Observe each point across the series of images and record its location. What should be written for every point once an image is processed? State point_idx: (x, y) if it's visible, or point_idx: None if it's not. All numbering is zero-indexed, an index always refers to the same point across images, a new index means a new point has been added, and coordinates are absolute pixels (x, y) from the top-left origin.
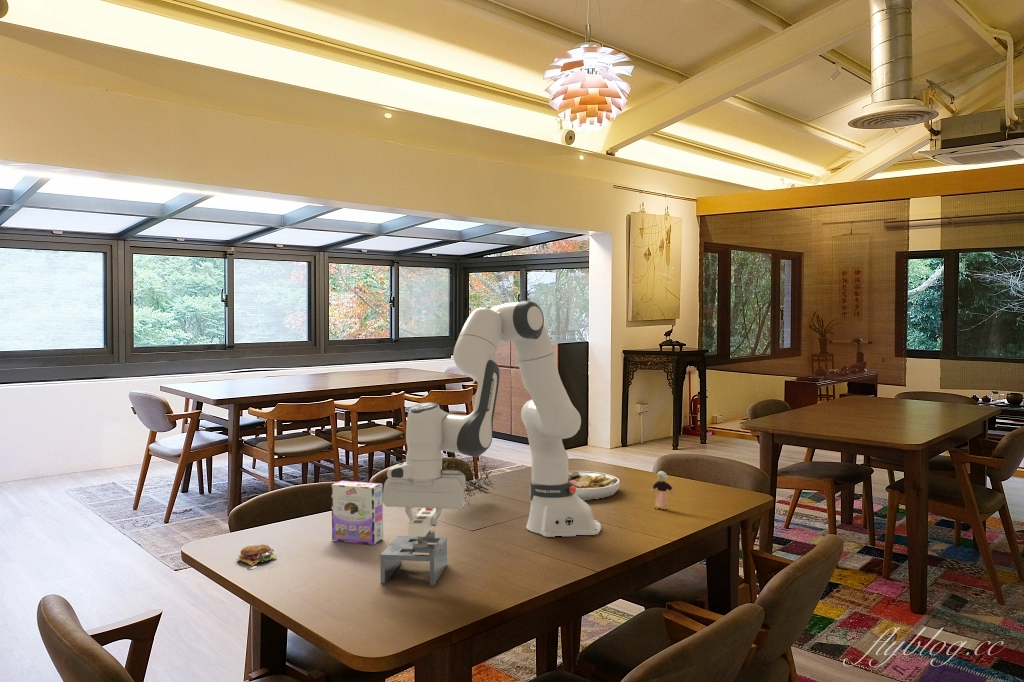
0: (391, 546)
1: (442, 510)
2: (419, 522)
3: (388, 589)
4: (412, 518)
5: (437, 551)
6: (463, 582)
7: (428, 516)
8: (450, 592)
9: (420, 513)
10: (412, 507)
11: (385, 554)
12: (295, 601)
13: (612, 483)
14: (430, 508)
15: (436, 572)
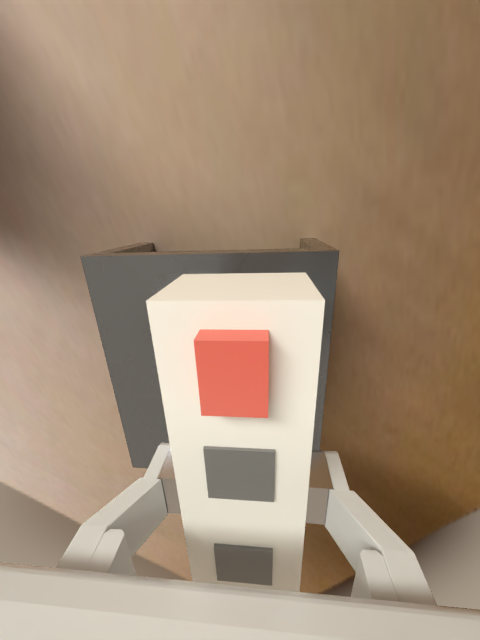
0: (128, 396)
1: (412, 570)
2: None
3: None
4: (170, 511)
5: (320, 434)
6: (383, 382)
7: (282, 541)
8: (351, 439)
9: (198, 484)
10: (118, 558)
11: (147, 466)
12: (53, 483)
13: None
14: (256, 416)
15: None
